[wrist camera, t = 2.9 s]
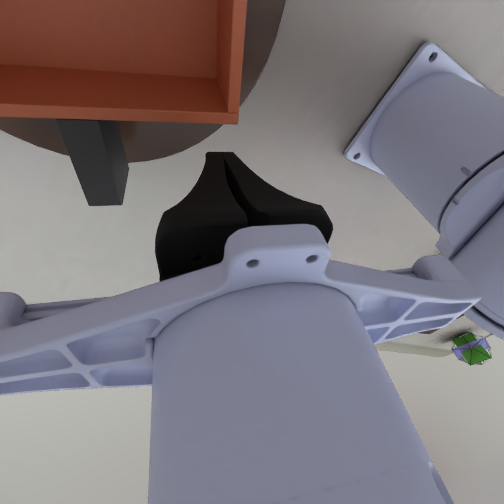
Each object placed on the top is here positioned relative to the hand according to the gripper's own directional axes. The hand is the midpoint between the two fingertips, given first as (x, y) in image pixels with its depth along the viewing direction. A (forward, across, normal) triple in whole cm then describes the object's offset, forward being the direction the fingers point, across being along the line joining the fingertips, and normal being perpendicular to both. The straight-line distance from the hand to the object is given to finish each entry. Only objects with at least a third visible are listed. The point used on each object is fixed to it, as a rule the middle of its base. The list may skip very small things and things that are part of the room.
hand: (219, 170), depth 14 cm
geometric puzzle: (+6, -57, +46) cm, 73 cm away
